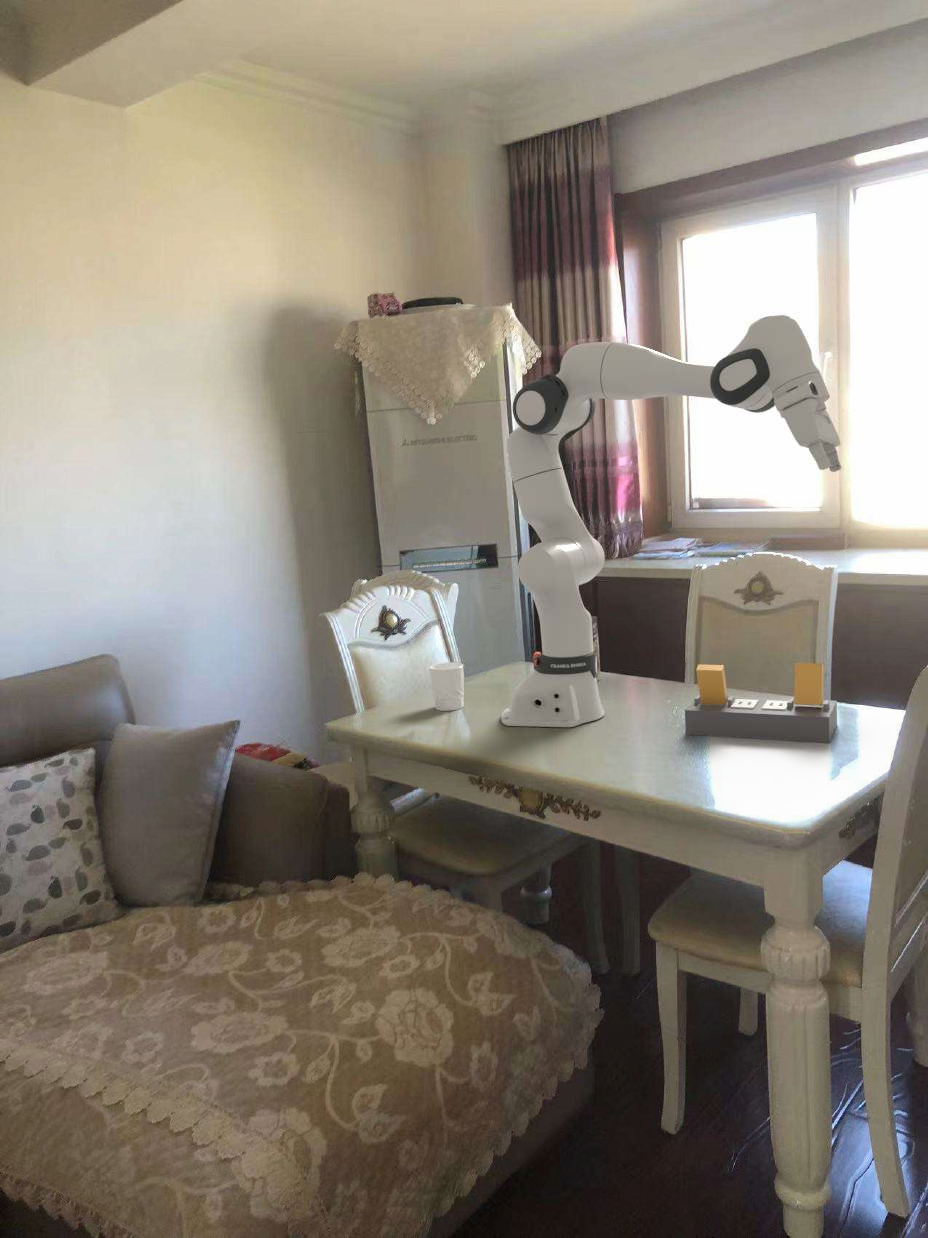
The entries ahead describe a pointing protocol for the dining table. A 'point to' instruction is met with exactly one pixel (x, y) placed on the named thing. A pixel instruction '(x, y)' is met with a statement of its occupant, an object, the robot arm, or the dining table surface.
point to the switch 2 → (808, 684)
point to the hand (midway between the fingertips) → (831, 469)
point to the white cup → (447, 685)
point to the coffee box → (596, 643)
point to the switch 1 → (712, 684)
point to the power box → (762, 719)
